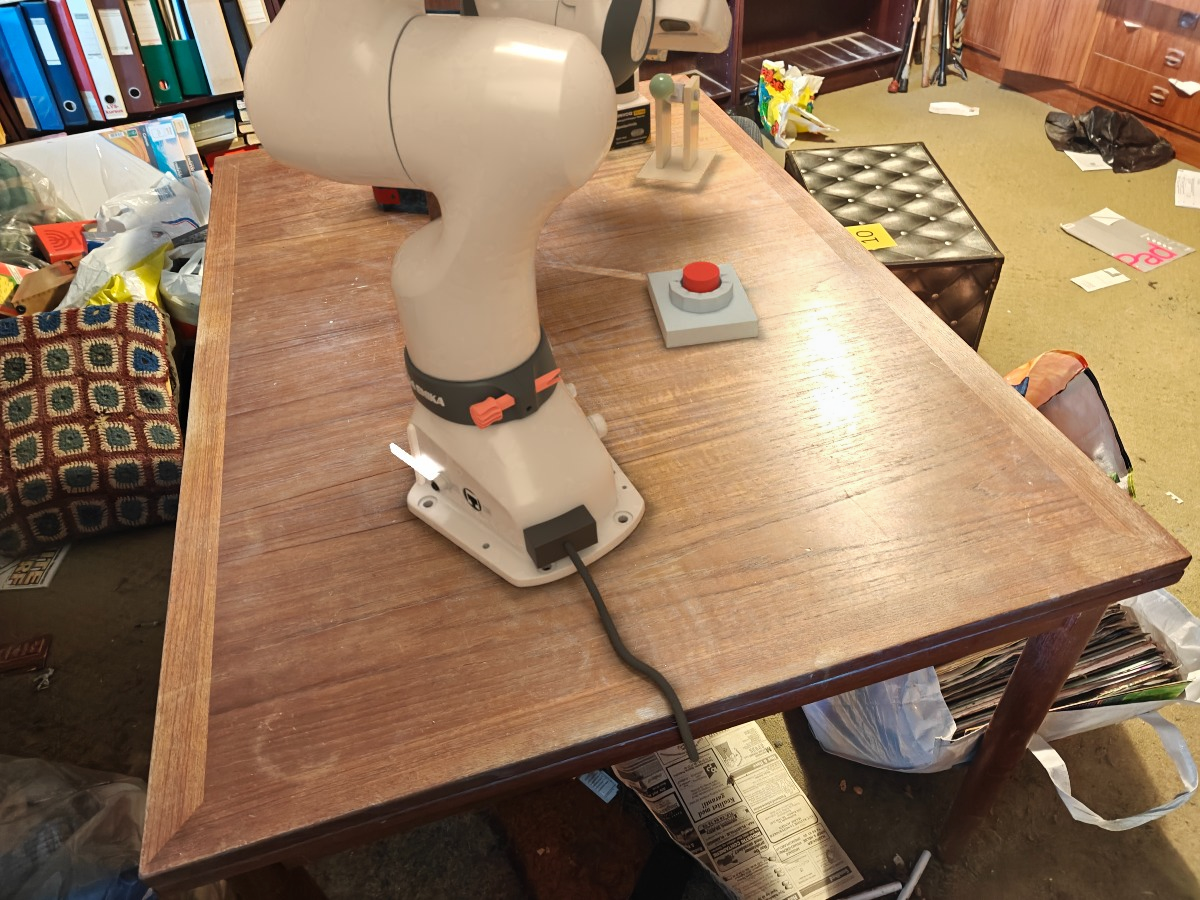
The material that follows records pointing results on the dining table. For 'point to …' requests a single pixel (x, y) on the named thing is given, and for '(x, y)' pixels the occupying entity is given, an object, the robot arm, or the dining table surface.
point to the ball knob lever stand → (675, 160)
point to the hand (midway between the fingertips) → (655, 54)
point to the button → (701, 277)
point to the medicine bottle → (631, 115)
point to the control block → (701, 309)
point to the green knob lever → (666, 89)
